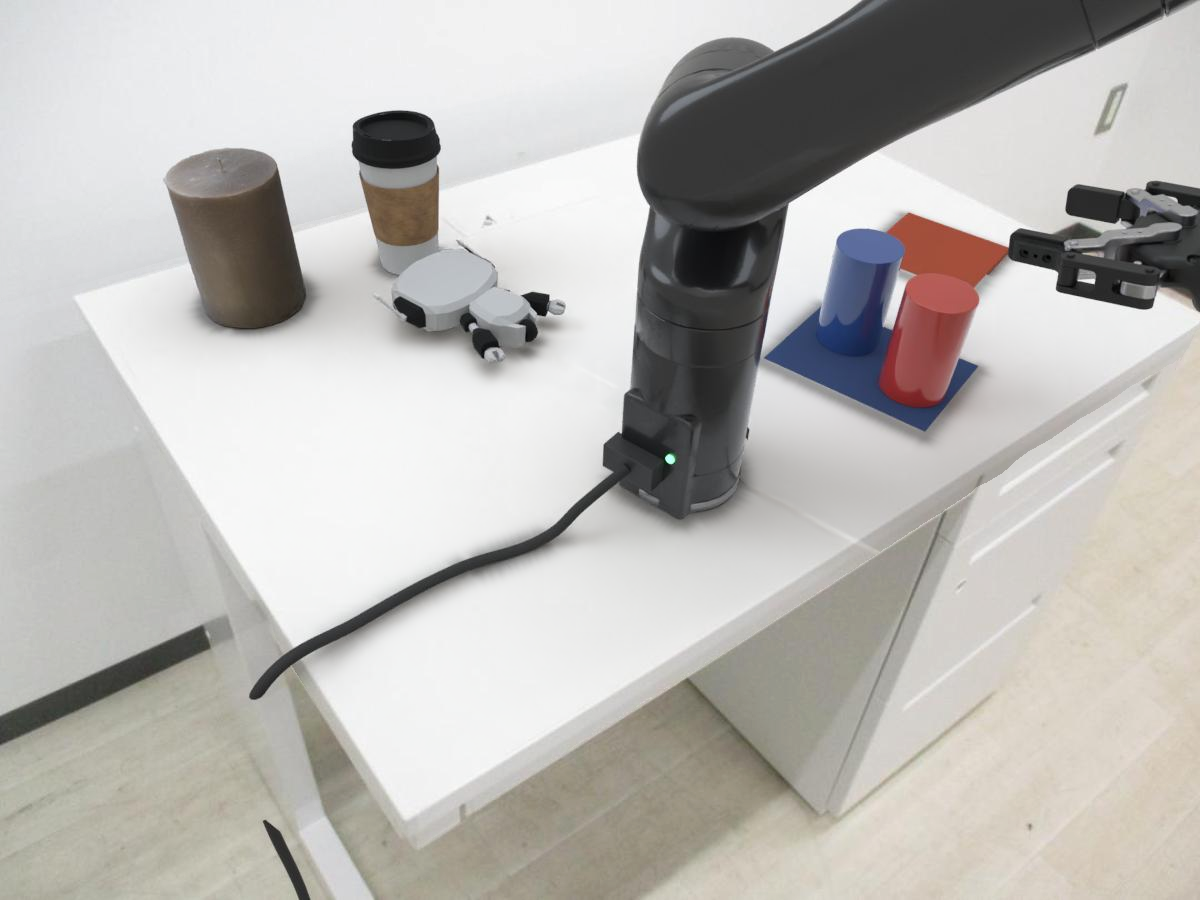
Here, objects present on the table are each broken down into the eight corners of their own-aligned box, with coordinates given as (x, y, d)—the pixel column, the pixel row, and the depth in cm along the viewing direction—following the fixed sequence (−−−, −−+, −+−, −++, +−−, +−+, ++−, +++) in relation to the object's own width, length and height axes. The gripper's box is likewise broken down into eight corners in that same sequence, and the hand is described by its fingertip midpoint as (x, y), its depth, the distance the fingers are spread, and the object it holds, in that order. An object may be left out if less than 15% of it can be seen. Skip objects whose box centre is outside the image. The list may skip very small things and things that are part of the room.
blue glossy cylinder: (861, 364, 87) (886, 271, 81) (804, 339, 90) (824, 247, 83) (889, 335, 91) (916, 243, 84) (833, 312, 94) (855, 221, 87)
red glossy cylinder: (929, 417, 82) (962, 322, 75) (866, 389, 85) (893, 294, 78) (956, 384, 86) (990, 290, 79) (895, 358, 88) (923, 265, 82)
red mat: (966, 298, 97) (967, 294, 97) (860, 258, 102) (861, 253, 102) (1008, 252, 104) (1010, 247, 104) (907, 216, 110) (908, 212, 109)
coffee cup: (351, 266, 98) (328, 126, 88) (405, 232, 103) (389, 96, 93) (415, 292, 95) (398, 150, 85) (466, 255, 100) (456, 117, 90)
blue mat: (923, 436, 81) (925, 431, 81) (762, 362, 88) (763, 357, 88) (976, 370, 88) (978, 365, 88) (824, 307, 95) (825, 302, 95)
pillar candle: (318, 313, 92) (288, 169, 82) (215, 340, 88) (170, 192, 78) (291, 265, 98) (260, 125, 88) (193, 288, 94) (149, 145, 84)
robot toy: (572, 328, 93) (454, 268, 98) (576, 290, 89) (453, 230, 95) (493, 392, 85) (370, 324, 90) (494, 353, 82) (366, 284, 87)
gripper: (1355, 171, 60) (1093, 136, 70) (1273, 261, 53) (995, 208, 63) (1319, 278, 64) (1078, 230, 74) (1240, 375, 57) (985, 307, 67)
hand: (1040, 220), depth 69 cm, fingers open, 8 cm apart
